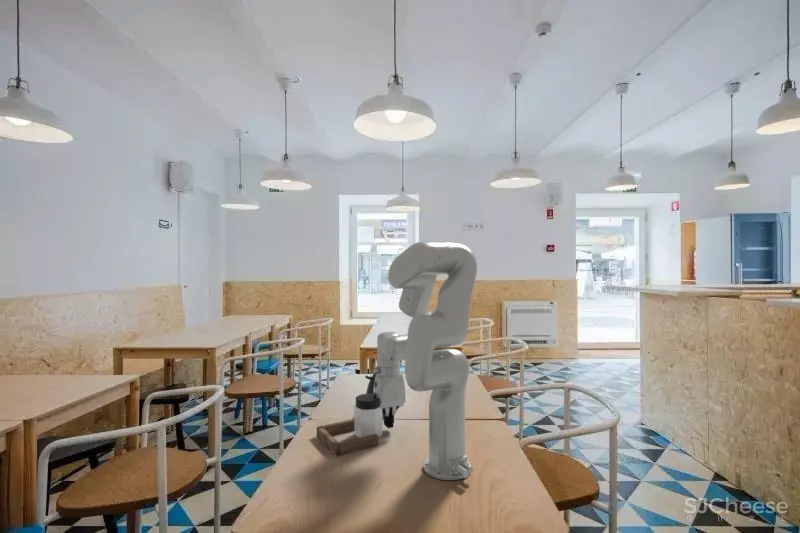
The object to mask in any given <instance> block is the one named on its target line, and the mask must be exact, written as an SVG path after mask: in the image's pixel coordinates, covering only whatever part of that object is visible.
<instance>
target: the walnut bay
mask: <svg viewBox="0 0 800 533" xmlns="http://www.w3.org/2000/svg"><path fill="white" fill-rule="evenodd" d="M350 431H351V432H352V431H354V418H353V419H347V420H343V421H339V422H338V421H337V422H333V423H328V424H324V425H319V426H316V437H317V438H318V439H319V440H320V441H321V443H323V445H324V446H325V447H326V448H327V449H328V448H329V449H330V450H331V451H332V452H333V453H334V454H335V455H336V456H335V455H334V454H333V453H332V452H331V451H330V450H329V449H328V450H329V451H330V452H331V453H332V454H333V455H334V456H335V457H338V456H343V455H347V454H351V453H355V452H359V451H362V450H366V449H371V448H374V447H378V446H379V437H378V435H377V434H373V435H369V436H365V437H361V438H358V437H356V438H353V439H349V440H344V441H340V442H339V441H338V440H337V439H336V438H335V437H333V435H338V434H342V433H346V432H347V433H348V432H350Z"/></svg>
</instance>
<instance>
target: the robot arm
mask: <svg viewBox="0 0 800 533" xmlns="http://www.w3.org/2000/svg"><path fill="white" fill-rule="evenodd" d="M476 259H477V258H476V257H475V254H474V252H473V251H472V250H471V249H470V248H469V247H467V246H466V245H463V244H461V243H458V242H457V243H456V242H447V241H446V242H445V241H441V242H440V241H438V242H437V241H436V242H435V241H418V242H415V243H413V244H411V245H410V246H409V247H407V248H406V249H404V250H403V251H402V252H401V253H400V254H398V255H397V256H396V258H394V260H393V261H392V262H391V264H390V266H389V269H388V272H387V273H388V274H387V279H388V282H389V285H391V287H392V288H394V289H402V292H401V295H400V299H399V302H398V308H399V310H400V311H401V312H402V313H403V314H405V315H407V316H408V317H410V318H412V319H411V320H410V322H409V325H408V329H407V334H402V335H401V334H400V333H398V332H394V331H384V332H380V333H379V334H378V335H377V340H376V341H377V342H376V344H377V345H376V346H377V347H376V348H377V350H376V351H377V353H376V354H377V355H376V357H377V358H376V360H377V361H376V362H377V365H376V368H374V369H373V374H374V373H377V375H376V377H375V381H374V389H373V395H374V396H376V397H377V398H380V402H381V404H380V408H381V409H382V413H383V414H384V415H383V424H384V427H386V428H387V429H391V428H394V423H395V415H396V413H397V411H398V409H399V408H402V407H404V405H405V404H406V401H407V400H406V398H407V396H406V386H405V385H406V384H405V381H406V383H407V386H408V387H409V388H410V389H411V390H413V391H415V392H421V393H422V392H427V391H431V394H430V396H429V401H428V402H429V403H428V448H429V449H428V456H427V457H426V458H425V460H424V461H423V463H422V465H423V467H422V469H423V470H424V472H425V474H427V475H429V476H430V477H433V478H434V479H437V480H442V481H458V480H461V479H467V478H468V477H469V476H470V474H471V473H472V472H473V470H474V469H473V467H472V465H471V463H470V461H469V460H468V455H466V394H467V393H466V392H467V385H468V380H469V375H470V364H469V361H468V358H467V356H466V354H465V353H463V352H462V351H460V350H458V349H455V348H452V347H456V346H460V345H462V344H464V342H465V341H466V338H467V336H468V329H469V321H470V311H471V303H472V302H471V301H472V295H473V290H474V287H475V286H474V285H475V282H476V278H477V272H478V265H477V260H476ZM438 275H447V278H446V279H445V280H444V282H443V283H442V285H441V286H440V289H439V291H438V294H437V304H436V308H435V310H432V311H430V310H429V311H427V310H428V306H429V303H430V300H431V297H432V294H433V291H434V287H435V284H436V280H437V276H438ZM450 347H451V348H450ZM444 348H445V349H444ZM437 349H438V350H437ZM401 361H405V362H404V374H403V373H402V372H401ZM404 377H405V379H404Z"/></svg>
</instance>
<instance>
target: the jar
mask: <svg viewBox="0 0 800 533" xmlns="http://www.w3.org/2000/svg"><path fill="white" fill-rule="evenodd" d="M380 404H381V402H380V398H377V397H376V396H374V395H373V394H366V393H363V394H359V395H357V396H355V405H354V406H353V411H354V416H353V419H354V430H353V431H354V436H355V437H356V438H361V437H365V436H369V435H373V434H377V435H378V438H379V437H382V435H383V434H384V432H383V427H384V426H383V424H384V415H382V409H381V408H380Z"/></svg>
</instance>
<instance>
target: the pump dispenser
mask: <svg viewBox="0 0 800 533" xmlns="http://www.w3.org/2000/svg"><path fill="white" fill-rule="evenodd" d="M376 375H377V373H374V372H373V374H372V375H367V374H366V375H365V376H364V377H365V379H366V380H367V379H368V380H369V382H368V384H367V388H366V392H365V394H373V389H374V381H375V377H376ZM382 415H383V416H384V414H383V413H382Z"/></svg>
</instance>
